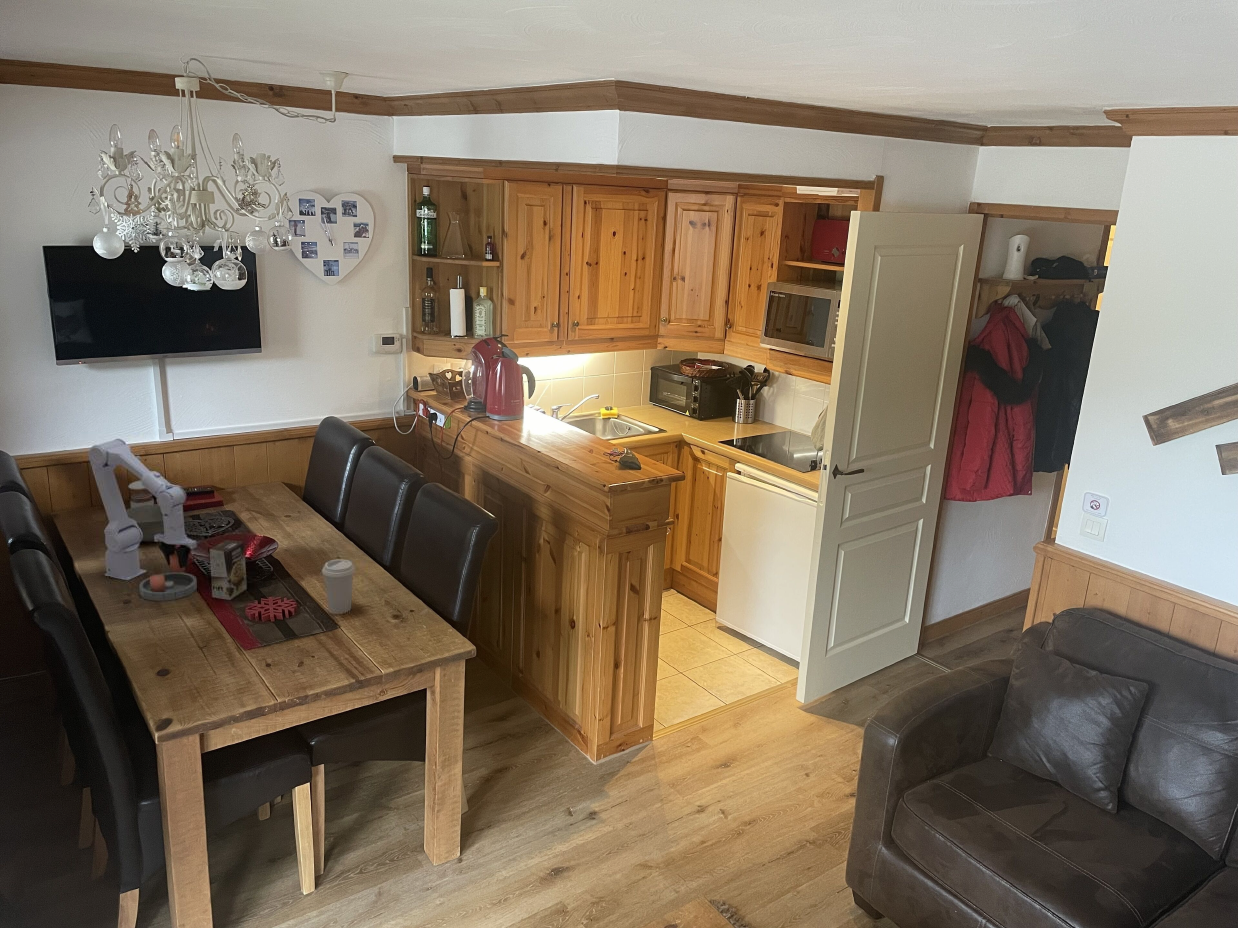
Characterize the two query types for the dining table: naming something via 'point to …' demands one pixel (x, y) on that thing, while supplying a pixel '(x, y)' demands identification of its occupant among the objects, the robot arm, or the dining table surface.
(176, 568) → the bead
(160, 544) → the robot arm
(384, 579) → the dining table surface
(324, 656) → the dining table surface
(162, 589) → the bead
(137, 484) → the french press
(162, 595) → the round tray
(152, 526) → the bowl
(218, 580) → the coffee box
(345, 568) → the coffee cup
